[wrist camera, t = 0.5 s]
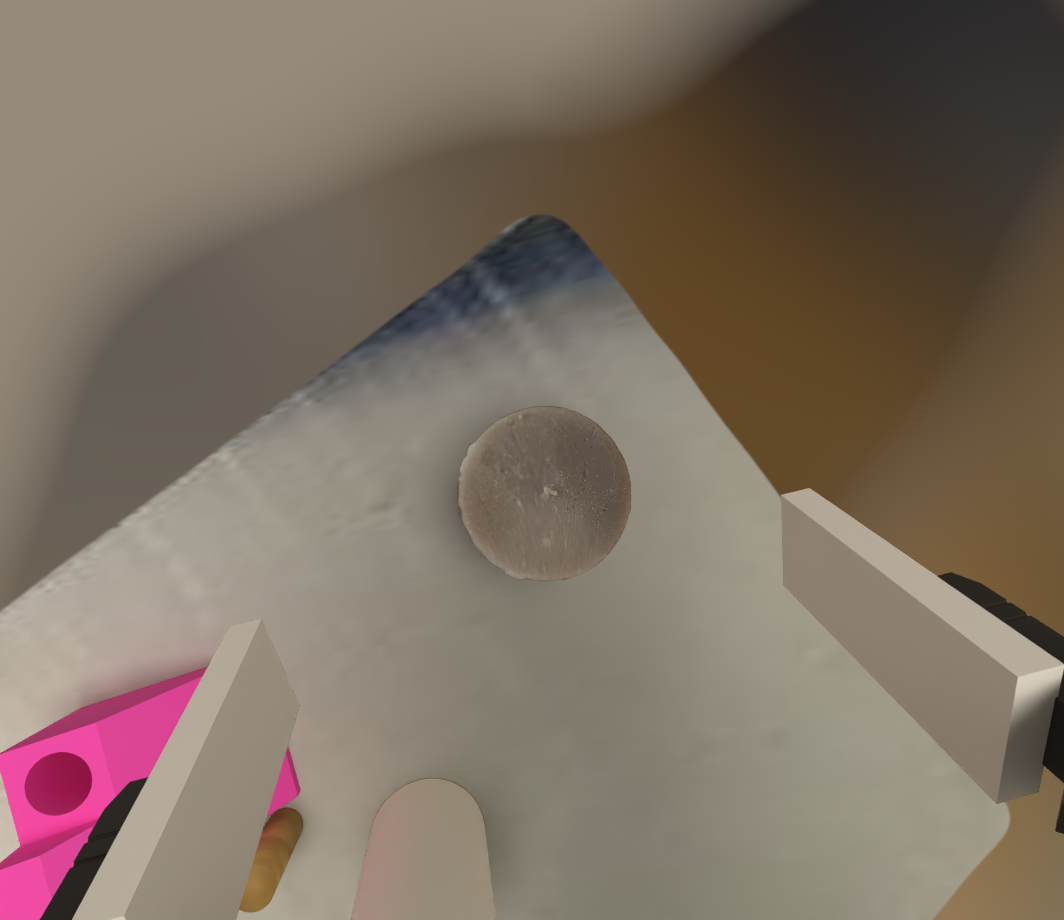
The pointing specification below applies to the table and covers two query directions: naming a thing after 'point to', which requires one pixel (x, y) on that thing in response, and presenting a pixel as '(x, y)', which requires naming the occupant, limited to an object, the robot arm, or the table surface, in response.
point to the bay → (271, 858)
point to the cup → (426, 857)
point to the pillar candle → (544, 493)
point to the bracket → (87, 783)
